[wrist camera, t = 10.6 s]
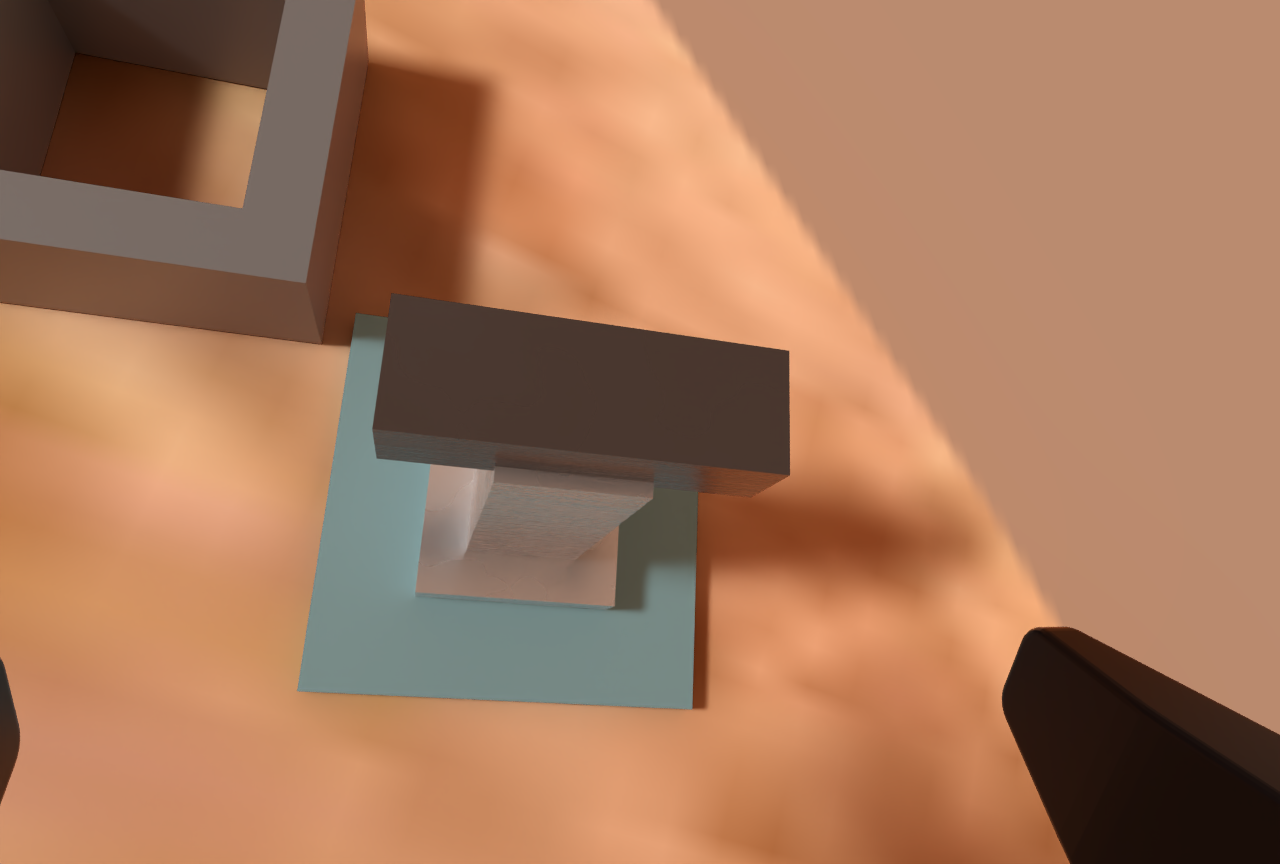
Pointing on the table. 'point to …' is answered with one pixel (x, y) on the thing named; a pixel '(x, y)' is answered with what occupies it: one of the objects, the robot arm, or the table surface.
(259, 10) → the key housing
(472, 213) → the table surface
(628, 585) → the key mat
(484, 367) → the t key
